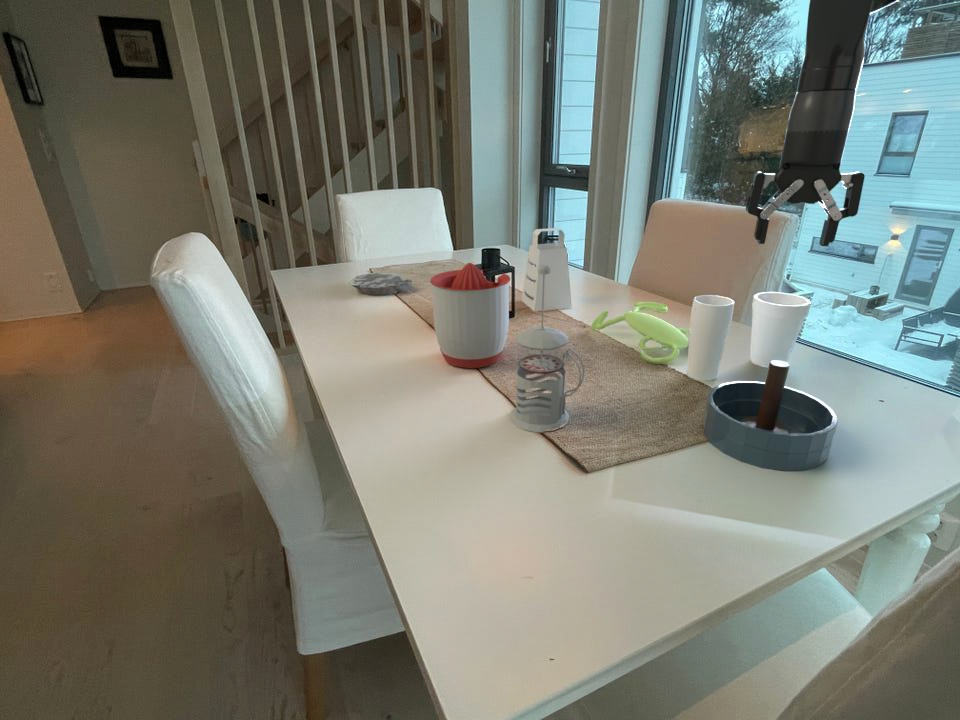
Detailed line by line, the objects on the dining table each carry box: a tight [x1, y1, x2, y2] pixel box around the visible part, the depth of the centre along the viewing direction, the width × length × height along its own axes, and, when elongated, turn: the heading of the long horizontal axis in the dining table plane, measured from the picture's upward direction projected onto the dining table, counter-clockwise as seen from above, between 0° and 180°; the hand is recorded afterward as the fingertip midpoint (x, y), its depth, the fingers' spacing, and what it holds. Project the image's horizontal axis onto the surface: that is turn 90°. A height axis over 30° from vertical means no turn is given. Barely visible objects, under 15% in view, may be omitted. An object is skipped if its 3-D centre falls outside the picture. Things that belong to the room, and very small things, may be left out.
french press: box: [509, 265, 586, 434], centre depth 78 cm, size 10×12×25 cm
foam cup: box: [749, 291, 812, 369], centre depth 99 cm, size 10×9×13 cm
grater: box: [521, 227, 573, 313], centre depth 136 cm, size 10×10×20 cm
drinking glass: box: [685, 294, 735, 382], centre depth 93 cm, size 7×7×15 cm
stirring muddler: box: [742, 360, 790, 433], centre depth 73 cm, size 6×6×12 cm
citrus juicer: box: [429, 262, 511, 370], centre depth 103 cm, size 16×17×20 cm
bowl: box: [702, 380, 838, 472], centre depth 74 cm, size 16×16×6 cm
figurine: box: [590, 301, 689, 365], centre depth 113 cm, size 18×27×6 cm
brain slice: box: [349, 271, 413, 296], centre depth 156 cm, size 20×17×3 cm
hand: (791, 244), depth 78 cm, fingers open, 8 cm apart
